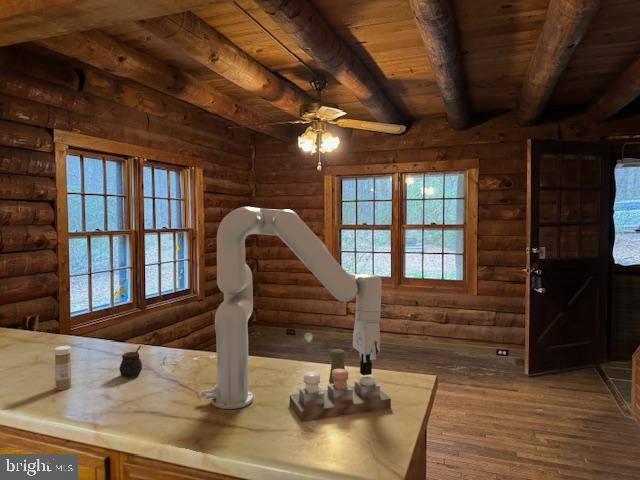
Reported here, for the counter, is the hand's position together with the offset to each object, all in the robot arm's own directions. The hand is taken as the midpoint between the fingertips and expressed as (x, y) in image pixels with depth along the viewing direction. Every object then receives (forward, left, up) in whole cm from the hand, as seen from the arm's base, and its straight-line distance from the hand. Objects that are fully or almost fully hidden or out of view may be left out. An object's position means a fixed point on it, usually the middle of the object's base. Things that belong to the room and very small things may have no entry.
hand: (365, 373), depth 132 cm
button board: (-9, 0, -9) cm, 12 cm away
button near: (-18, 0, -3) cm, 18 cm away
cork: (-2, +19, -9) cm, 21 cm away
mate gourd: (-70, +46, -9) cm, 84 cm away
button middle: (-9, 0, -3) cm, 9 cm away
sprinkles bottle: (-90, +41, -9) cm, 99 cm away
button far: (0, 0, -6) cm, 6 cm away
